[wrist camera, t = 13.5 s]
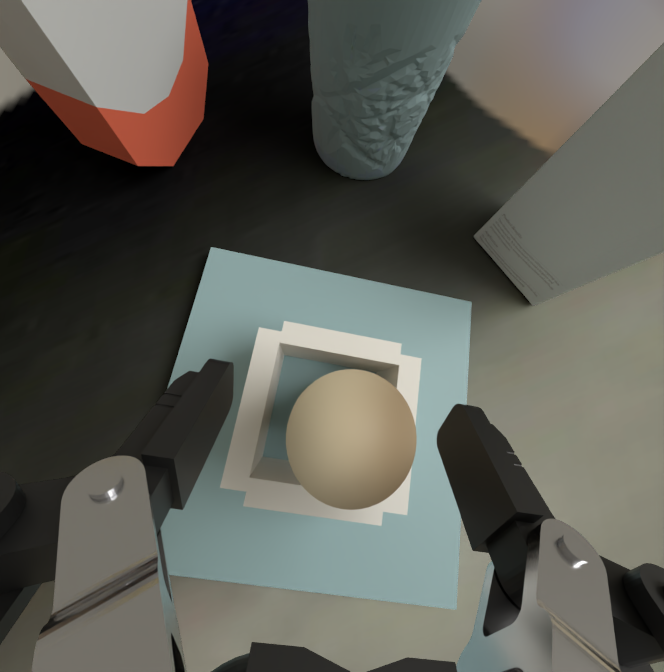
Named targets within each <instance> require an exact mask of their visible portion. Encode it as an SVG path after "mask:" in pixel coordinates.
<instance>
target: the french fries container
mask: <svg viewBox="0 0 664 672" xmlns="http://www.w3.org/2000/svg"><path fill="white" fill-rule="evenodd" d="M0 47H1V48H2V50H3V51H4V52H5V54H6V55H7V56H8V57H9V59H10V60H11V61H12V62H13V64H14V65H15V66H16V68H17V69H18V70H19V71H20V73H21V74H22V75H23V76H24V78H25V79H26V80H27V81H28V82H29V84H30V85H31V86H32V87H33V88H34V89H35V91H36V92H37V93H38V94H39V95H40V96H41V97H42V99H43V100H44V101H45V102H46V103H47V104H48V106H49V107H50V108H51V109H52V110H53V111H54V112H55V114H56V115H57V116H58V117H59V118H60V119H61V121H62V122H63V123H64V124H65V125H66V126H67V127H68V129H69V130H70V131H71V132H72V133H73V134H74V136H75V137H76V138H77V139H78V140H79V141H80V142H81V144H83V145H86V146H88V147H91V148H93V149H96V150H98V151H101V152H103V153H106V154H109V155H111V156H114V157H116V158H119V159H121V160H124V161H126V162H129V163H131V164H134V165H137V166H174V164H175V162H176V161H177V159H178V158H179V156H180V155H181V153H182V152H183V150H184V148H185V147H186V145H187V144H188V142H189V141H190V139H191V137H192V136H193V134H194V133H195V131H196V130H197V128H198V127H199V125H200V123H201V122H202V120H203V119H204V108H205V96H206V84H207V72H208V61H207V57H206V54H205V50H204V46H203V43H202V39H201V36H200V32H199V28H198V25H197V21H196V18H195V14H194V10H193V7H192V3H191V0H0Z"/></svg>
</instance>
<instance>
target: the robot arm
mask: <svg viewBox="0 0 664 672" xmlns="http://www.w3.org/2000/svg"><path fill="white" fill-rule="evenodd" d="M233 387H234V365H233V363H232V362H228V361H222V360H216V359H208V360H207V362H206V363H205V364H204V366H203V367H202V369H201V370H200V371H199V372H194V371H188V372H187V373H185V374H183V375H182V376H180V377H179V378H177V379H175V380H174V381H173V383H172V384H171V385H170V386H169V388H168V389H167V390H166V391H165V393H164V395H162V396H161V398H160V399H159V400H158V401H157V403H156V405H155V406H153V408H152V409H151V410H150V411H149V413H148V414H147V415H146V416H145V417H144V419H143V420H142V421H141V422H140V424H139V425H138V426H137V427H136V429H135V430H134V431H133V432H132V434H131V435H130V436H129V437H128V439H127V440H126V441H125V442H124V444H123V445H122V446H121V447H120V449H119V450H118V451H117V452H116V453H115V454H114V455H113V456H112V457H109V458H105V459H103V460H100V461H98V462H96V463H94V464H92V465H90V466H89V467H87V468H85V469H84V470H83V471H81V472H80V473H79V474H78V475H76V476H72V477H67V478H61V479H54V480H47V481H41V482H34V483H27V484H21V485H18V484H17V482H16V481H15V480H14V478H13V477H12V476H11V475H9V474H7V473H4V472H0V644H1V643H2V641H3V640H4V638H5V637H6V635H7V634H8V632H9V631H10V629H11V628H12V626H13V625H14V624H15V622H16V621H17V619H18V618H19V616H20V615H21V613H22V612H23V610H24V609H25V607H26V606H27V604H28V603H29V601H30V600H31V598H32V597H33V595H34V594H35V592H36V591H37V589H38V588H39V587H40V585H41V584H42V583H44V582H48V581H52V580H55V589H54V602H53V610H52V615H51V618H50V620H49V622H48V623H47V624H46V625H45V626H44V627H43V628H42V630H41V632H40V634H39V637H38V640H37V643H36V647H35V651H34V657H33V664H32V672H187V671H186V665H185V659H184V653H183V647H182V641H181V636H180V631H179V625H178V621H177V616H176V611H175V607H174V601H173V595H172V589H171V584H170V578H169V572H168V566H167V560H166V554H165V548H164V542H163V536H162V530H161V526H162V524H163V522H164V520H165V518H166V516H167V514H168V512H169V510H170V508H171V509H179V510H183V509H184V507H185V505H186V503H187V500H188V498H189V496H190V494H191V492H192V490H193V488H194V486H195V483H196V481H197V479H198V477H199V475H200V473H201V471H202V469H203V466H204V464H205V462H206V460H207V458H208V456H209V454H210V451H211V449H212V447H213V445H214V443H215V441H216V439H217V437H218V434H219V432H220V430H221V428H222V426H223V424H224V422H225V420H226V417H227V415H228V413H229V411H230V408H231V405H232V401H233ZM437 448H438V451H439V454H440V457H441V459H442V462H443V465H444V468H445V471H446V474H447V477H448V480H449V483H450V486H451V489H452V492H453V494H454V497H455V500H456V503H457V506H458V509H459V512H460V515H461V518H462V521H463V524H464V527H465V530H466V532H467V535H468V538H469V541H470V544H471V547H472V550H473V551H479V552H486V553H489V554H490V557H491V560H492V561H491V562H490V563H489V564H488V566H487V570H486V574H485V579H484V584H483V588H482V593H481V597H480V602H479V607H478V611H477V616H476V620H475V625H474V630H473V633H472V636H471V639H470V641H469V643H468V644H467V646H466V647H465V648H464V650H463V652H462V654H461V656H460V658H459V660H458V663H457V666H456V664H455V662H447V661H437V660H427V659H417V658H405V659H402V660H399V661H396V662H393V663H391V664H388V665H385V666H382V667H379V668H376V669H374V670H371V671H368V672H654V671H653V669H652V668H651V666H650V664H653V663H657V662H661V661H664V569H663V568H661V567H659V566H657V565H654V564H649V563H646V564H643V565H640V566H638V567H636V568H634V569H632V570H629V569H627V568H625V567H623V566H621V565H618V564H616V563H614V562H612V561H610V560H608V559H606V558H604V557H602V556H600V555H598V553H597V552H596V550H595V549H594V548H593V546H592V545H591V544H590V543H589V542H588V541H587V540H586V539H585V538H584V537H583V536H582V535H581V534H580V533H579V532H578V531H576V530H575V529H574V528H572V527H571V526H569V525H568V524H566V523H564V522H562V521H559V520H557V519H555V518H554V516H553V515H552V513H551V511H550V510H549V508H548V506H547V505H546V503H545V502H544V500H543V498H542V497H541V495H540V493H539V492H538V490H537V488H536V487H535V485H534V484H533V482H532V480H531V479H530V477H529V475H528V474H527V472H526V470H525V469H524V467H522V466H521V465H522V464H521V462H520V461H519V459H518V457H517V456H516V455H514V451H513V449H512V447H511V446H510V444H509V443H508V441H507V439H506V438H505V437H504V436H503V435H502V434H501V432H500V431H499V430H498V429H497V428H496V427H495V426H494V425H493V424H490V422H489V420H488V419H487V417H486V415H485V414H484V412H483V410H482V409H481V408H479V407H475V406H469V405H464V404H456V405H454V406H453V408H452V409H451V411H450V413H449V414H448V416H447V417H446V419H445V421H444V422H443V424H442V425H441V427H440V429H439V430H438V433H437ZM211 672H350V671H348V670H346V669H344V668H342V667H341V666H339V665H337V664H335V663H333V662H331V661H329V660H327V659H325V658H323V657H322V656H320V655H318V654H316V653H314V652H312V651H310V650H308V649H306V648H304V647H296V646H286V645H276V644H266V643H256V642H252V644H251V649H250V653H248V654H245V655H242V656H239V657H236V658H234V659H232V660H230V661H228V662H226V663H224V664H222V665H220V666H219V667H217V668H216V669H214V670H213V671H211Z"/></svg>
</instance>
